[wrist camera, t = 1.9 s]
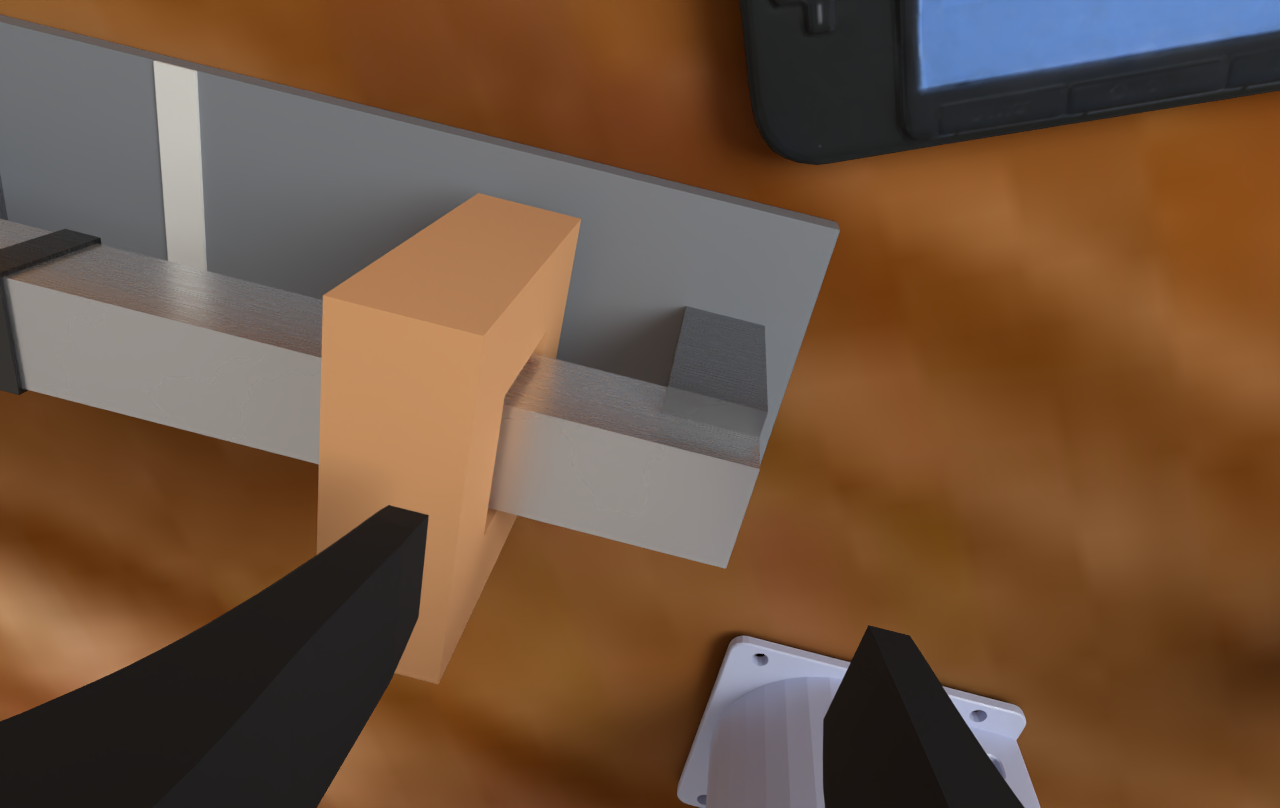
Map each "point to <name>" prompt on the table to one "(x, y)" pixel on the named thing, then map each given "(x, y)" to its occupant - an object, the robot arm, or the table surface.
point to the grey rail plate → (291, 389)
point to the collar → (437, 393)
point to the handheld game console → (989, 66)
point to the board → (376, 198)
